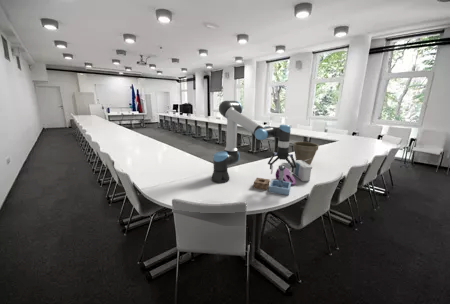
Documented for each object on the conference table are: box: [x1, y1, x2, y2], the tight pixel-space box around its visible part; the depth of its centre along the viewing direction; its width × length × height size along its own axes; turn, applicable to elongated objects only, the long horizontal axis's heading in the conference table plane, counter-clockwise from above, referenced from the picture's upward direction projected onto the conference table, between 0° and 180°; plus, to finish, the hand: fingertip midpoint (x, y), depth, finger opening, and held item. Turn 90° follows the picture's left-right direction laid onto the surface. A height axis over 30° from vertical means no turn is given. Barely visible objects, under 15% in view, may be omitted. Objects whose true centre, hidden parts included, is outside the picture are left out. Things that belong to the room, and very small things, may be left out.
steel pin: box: [277, 164, 286, 188], centre depth 146 cm, size 5×5×18 cm
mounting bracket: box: [275, 167, 297, 186], centre depth 165 cm, size 10×8×18 cm
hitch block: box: [253, 177, 270, 191], centre depth 153 cm, size 10×10×5 cm
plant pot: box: [292, 141, 320, 166], centre depth 212 cm, size 25×25×22 cm
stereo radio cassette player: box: [292, 159, 313, 182], centre depth 172 cm, size 21×8×20 cm, turn 5°
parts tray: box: [268, 179, 292, 196], centre depth 148 cm, size 14×14×4 cm
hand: (281, 174), depth 146 cm, fingers open, 13 cm apart
